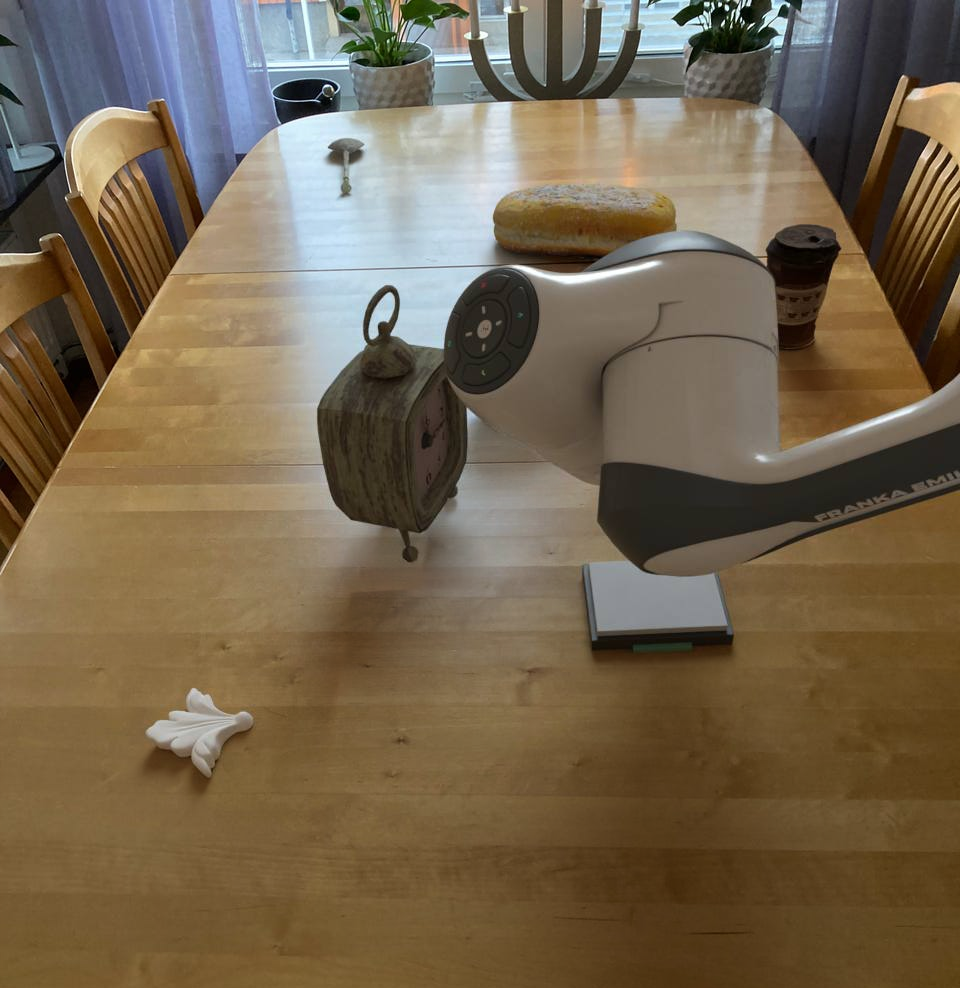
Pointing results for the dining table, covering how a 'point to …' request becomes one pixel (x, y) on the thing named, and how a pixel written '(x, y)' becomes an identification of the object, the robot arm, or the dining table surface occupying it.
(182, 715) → the acanthus leaf ornament
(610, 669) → the dining table surface
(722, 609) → the scale
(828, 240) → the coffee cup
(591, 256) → the bread
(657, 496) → the robot arm
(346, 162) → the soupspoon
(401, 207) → the dining table surface
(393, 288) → the tabletop clock
